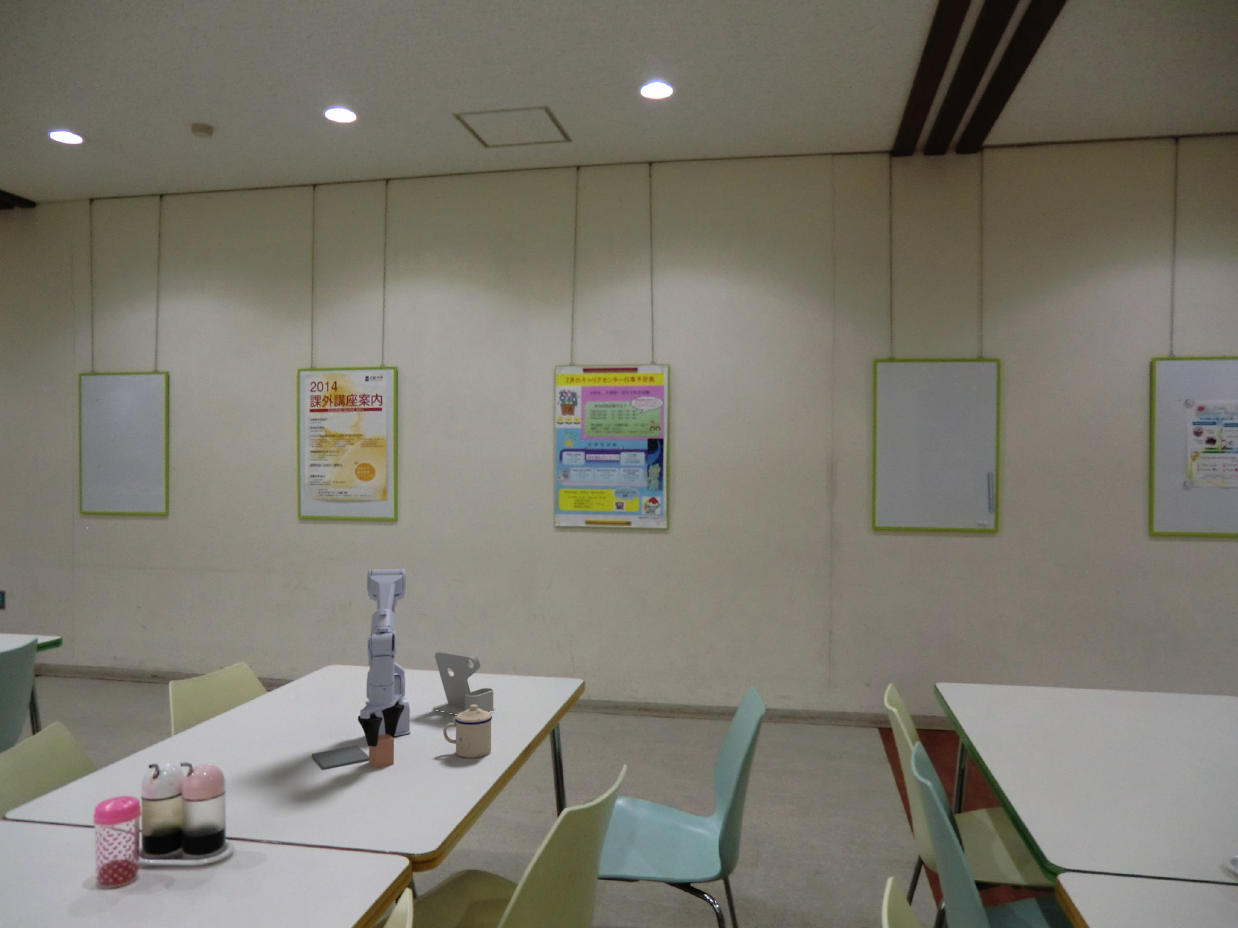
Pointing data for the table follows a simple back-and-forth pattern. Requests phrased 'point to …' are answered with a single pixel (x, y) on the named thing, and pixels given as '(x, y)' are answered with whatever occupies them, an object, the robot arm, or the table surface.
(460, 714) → the teacup with lid
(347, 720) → the table surface
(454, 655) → the phone holder
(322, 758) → the charcoal mat
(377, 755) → the brick-red block
